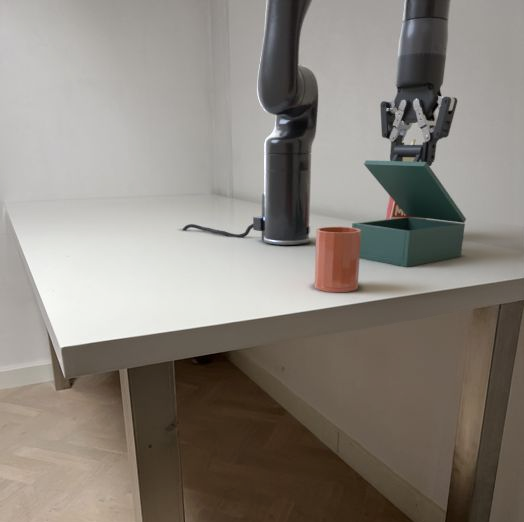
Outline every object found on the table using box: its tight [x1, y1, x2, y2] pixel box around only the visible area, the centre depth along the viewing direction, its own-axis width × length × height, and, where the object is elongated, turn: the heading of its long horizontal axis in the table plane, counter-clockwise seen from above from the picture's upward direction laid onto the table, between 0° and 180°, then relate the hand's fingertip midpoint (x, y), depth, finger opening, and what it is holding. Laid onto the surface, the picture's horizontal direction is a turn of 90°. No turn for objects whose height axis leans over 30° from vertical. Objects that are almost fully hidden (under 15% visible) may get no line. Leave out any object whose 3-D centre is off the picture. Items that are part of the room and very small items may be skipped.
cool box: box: [351, 217, 466, 268], centre depth 99 cm, size 16×13×6 cm
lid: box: [363, 144, 467, 224], centre depth 97 cm, size 16×13×5 cm
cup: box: [314, 226, 361, 293], centre depth 77 cm, size 6×6×8 cm
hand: (410, 165), depth 94 cm, fingers closed on lid, 5 cm apart
